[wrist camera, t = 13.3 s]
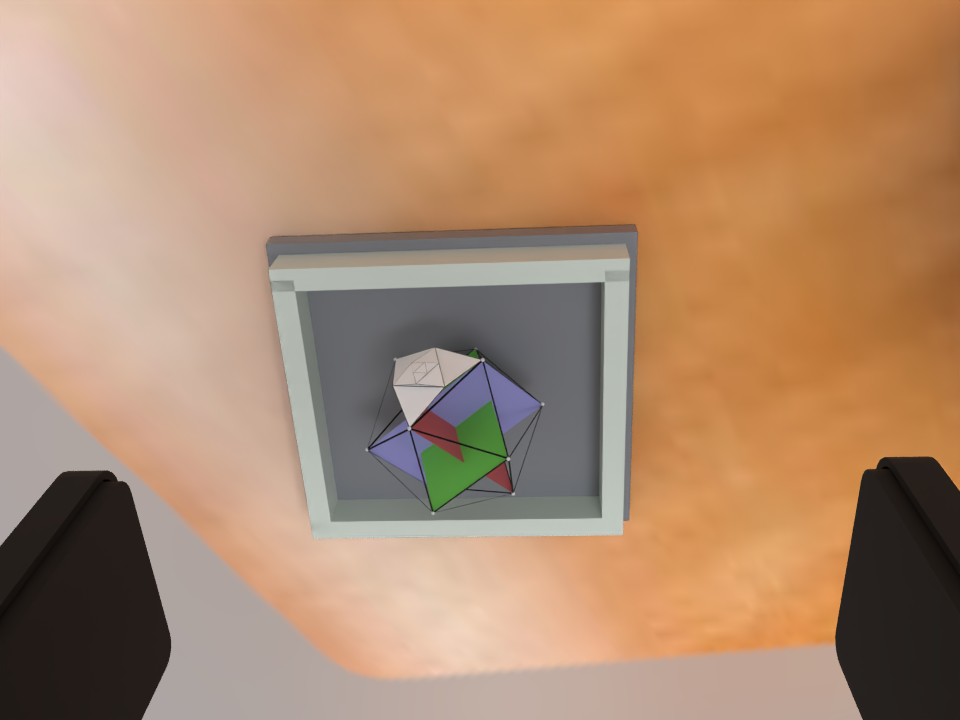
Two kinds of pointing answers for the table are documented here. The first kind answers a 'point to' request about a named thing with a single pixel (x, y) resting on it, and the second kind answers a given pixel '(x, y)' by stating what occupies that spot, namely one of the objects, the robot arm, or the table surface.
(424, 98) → the table surface
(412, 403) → the geometric puzzle
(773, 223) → the table surface
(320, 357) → the shallow square tray
